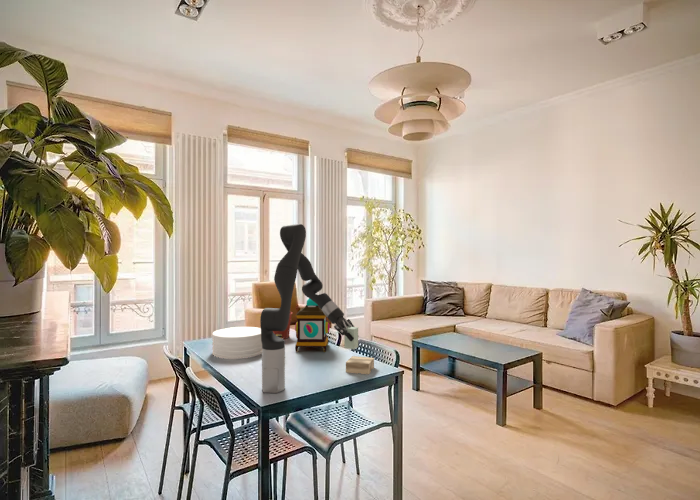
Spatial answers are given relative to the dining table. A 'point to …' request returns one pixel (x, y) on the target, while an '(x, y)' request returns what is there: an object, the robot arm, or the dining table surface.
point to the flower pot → (285, 333)
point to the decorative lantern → (311, 327)
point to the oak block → (360, 365)
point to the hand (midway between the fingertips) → (354, 338)
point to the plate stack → (237, 342)
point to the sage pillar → (354, 342)
